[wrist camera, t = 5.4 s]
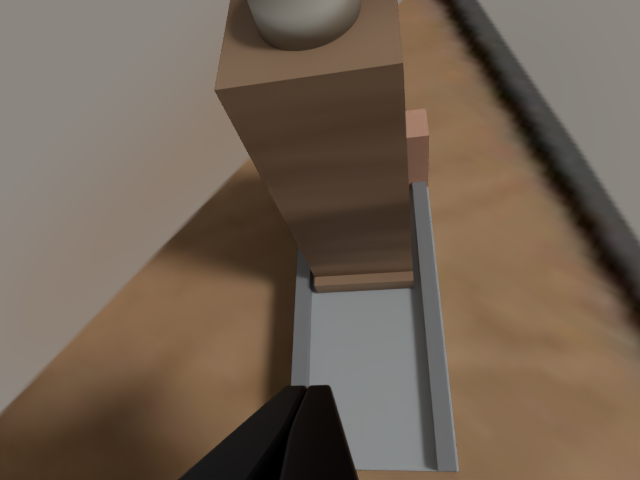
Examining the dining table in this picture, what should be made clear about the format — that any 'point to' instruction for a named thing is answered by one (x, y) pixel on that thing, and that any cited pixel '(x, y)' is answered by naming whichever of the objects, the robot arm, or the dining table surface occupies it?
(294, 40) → the slider block with knob
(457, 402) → the dining table surface
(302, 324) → the rail
